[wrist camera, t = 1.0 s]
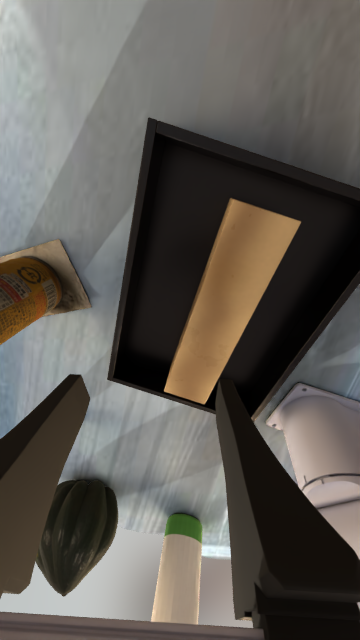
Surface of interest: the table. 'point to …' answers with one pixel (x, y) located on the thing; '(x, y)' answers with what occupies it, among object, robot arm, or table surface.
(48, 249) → the condiment
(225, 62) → the table surface
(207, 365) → the stick
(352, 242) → the black tray
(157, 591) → the wine bottle
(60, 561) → the squash
